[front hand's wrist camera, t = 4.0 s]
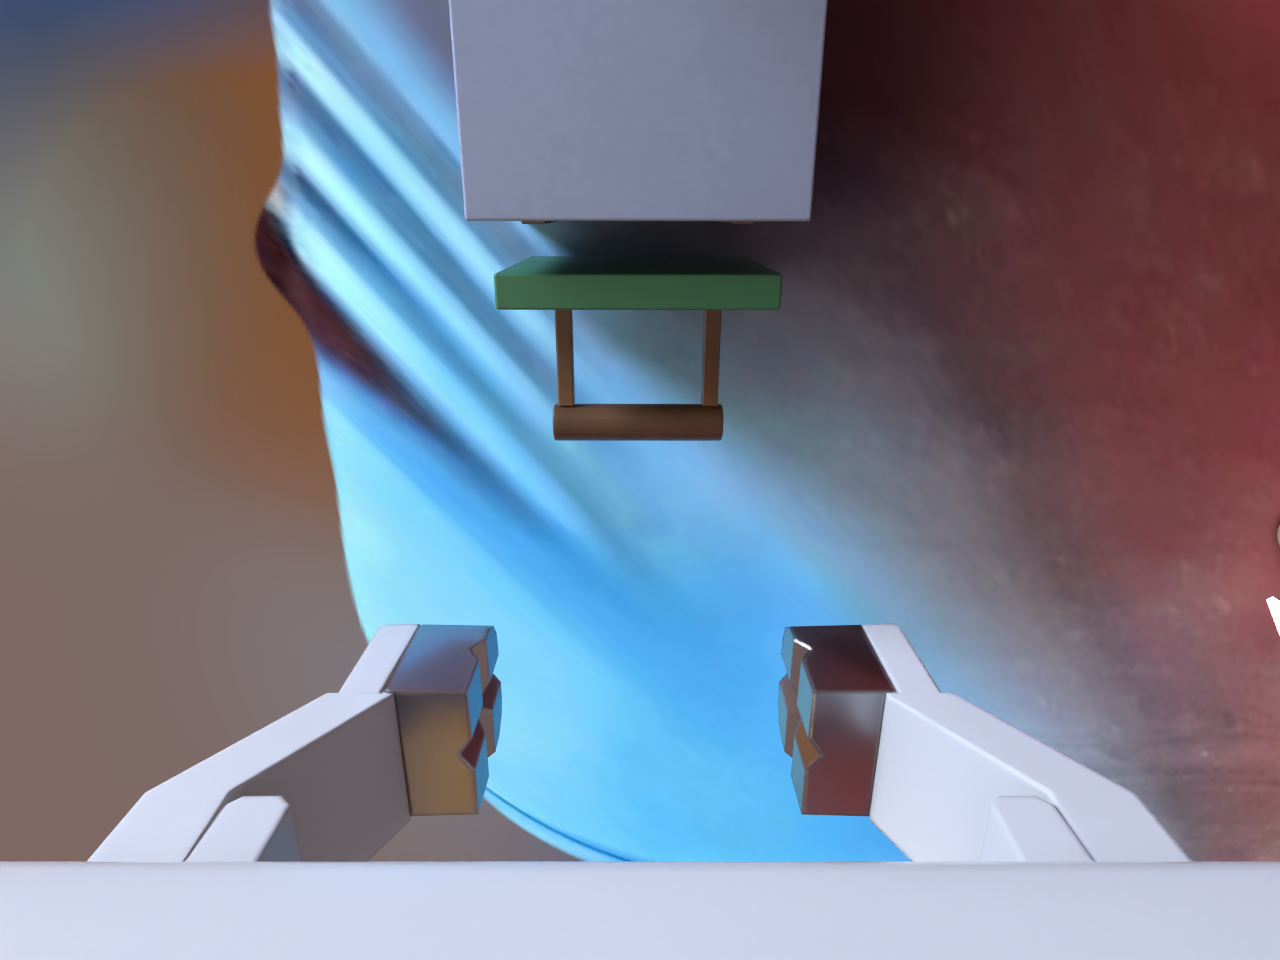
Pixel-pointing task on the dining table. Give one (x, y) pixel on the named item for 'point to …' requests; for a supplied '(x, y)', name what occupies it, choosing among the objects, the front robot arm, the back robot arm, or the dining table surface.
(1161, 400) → the dining table surface
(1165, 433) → the dining table surface
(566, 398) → the drawer
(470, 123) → the cabinet
